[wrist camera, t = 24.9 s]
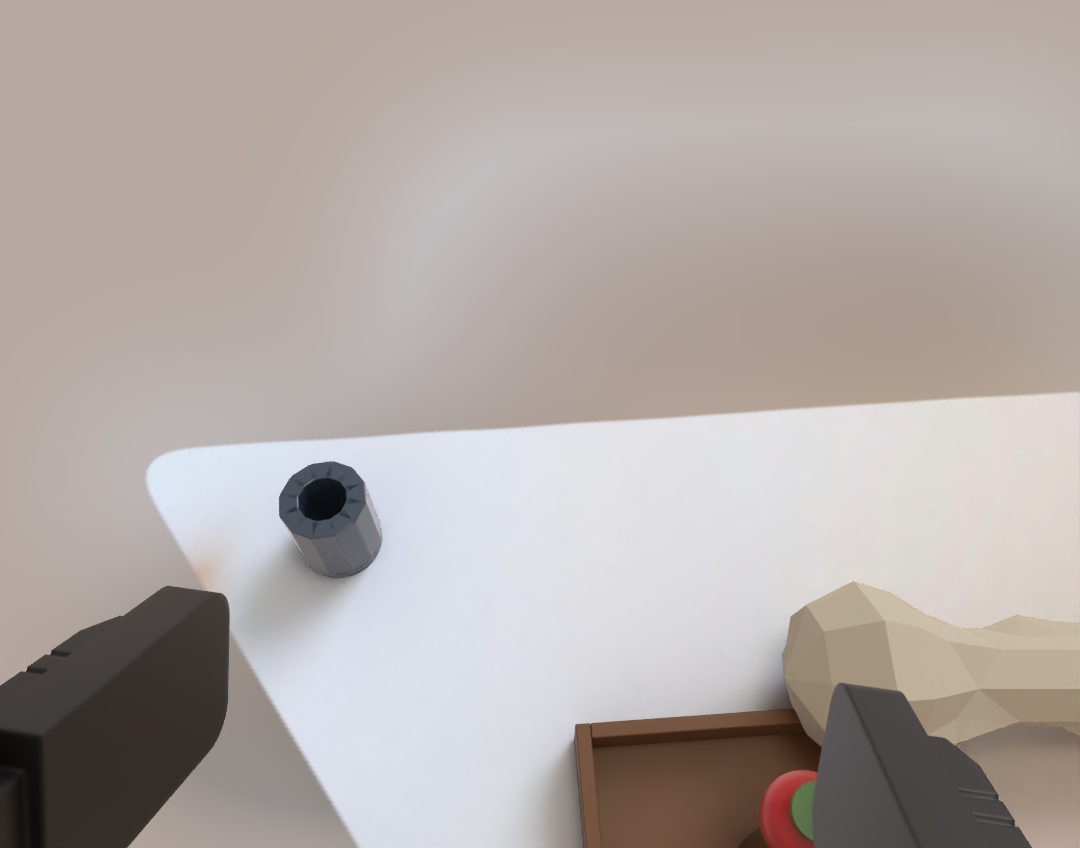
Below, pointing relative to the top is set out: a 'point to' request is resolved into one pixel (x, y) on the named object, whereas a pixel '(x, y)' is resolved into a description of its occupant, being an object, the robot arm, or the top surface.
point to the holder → (331, 518)
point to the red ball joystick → (785, 813)
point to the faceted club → (932, 665)
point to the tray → (684, 777)
